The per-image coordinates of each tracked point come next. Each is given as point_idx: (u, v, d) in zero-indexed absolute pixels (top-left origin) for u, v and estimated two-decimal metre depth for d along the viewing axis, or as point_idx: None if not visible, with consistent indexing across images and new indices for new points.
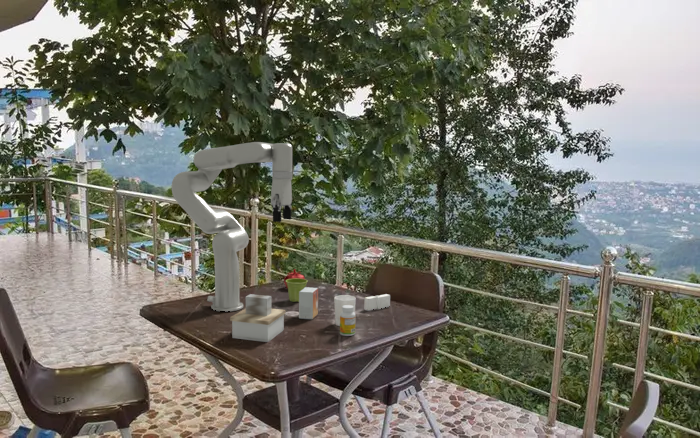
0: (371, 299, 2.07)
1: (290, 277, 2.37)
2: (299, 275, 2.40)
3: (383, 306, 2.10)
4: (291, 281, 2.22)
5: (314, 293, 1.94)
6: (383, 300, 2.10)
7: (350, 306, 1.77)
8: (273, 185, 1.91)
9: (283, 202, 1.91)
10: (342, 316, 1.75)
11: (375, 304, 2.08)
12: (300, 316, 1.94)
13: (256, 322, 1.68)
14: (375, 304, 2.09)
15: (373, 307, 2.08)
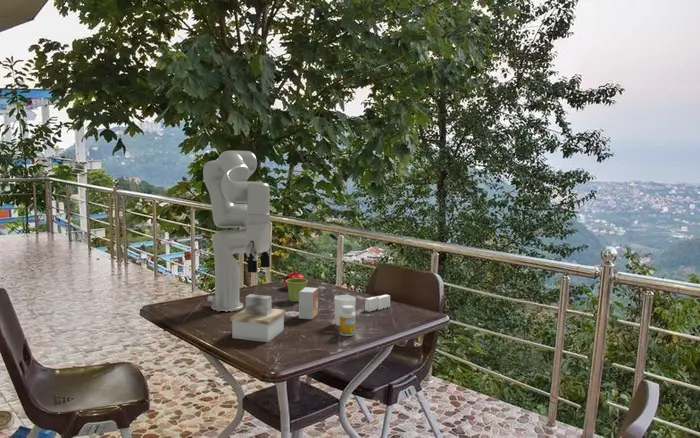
0: (372, 300, 2.06)
1: (290, 277, 2.37)
2: (299, 275, 2.40)
3: (383, 307, 2.09)
4: (291, 281, 2.22)
5: (314, 293, 1.94)
6: (383, 300, 2.09)
7: (350, 306, 1.77)
8: (247, 231, 1.68)
9: (259, 250, 1.68)
10: (342, 316, 1.75)
11: (375, 305, 2.08)
12: (300, 316, 1.94)
13: (256, 322, 1.68)
14: (376, 304, 2.08)
15: (374, 308, 2.07)
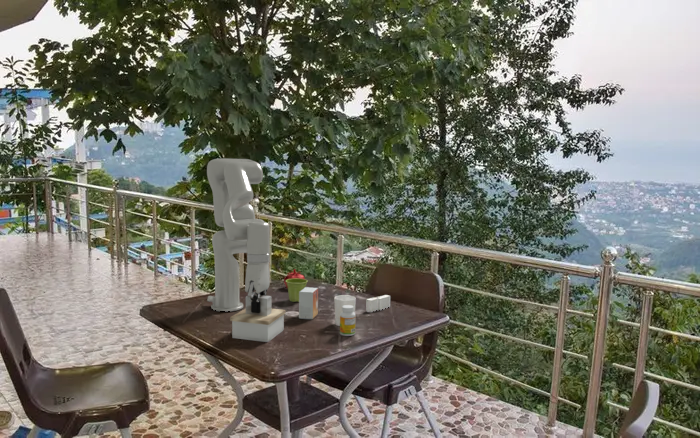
0: (373, 300, 2.05)
1: (290, 277, 2.37)
2: (299, 275, 2.40)
3: (384, 307, 2.09)
4: (291, 281, 2.22)
5: (314, 293, 1.94)
6: (384, 301, 2.08)
7: (350, 306, 1.77)
8: (247, 270, 1.69)
9: (259, 289, 1.70)
10: (342, 316, 1.75)
11: (376, 305, 2.07)
12: (300, 316, 1.94)
13: (256, 322, 1.68)
14: (377, 305, 2.07)
15: (375, 308, 2.06)
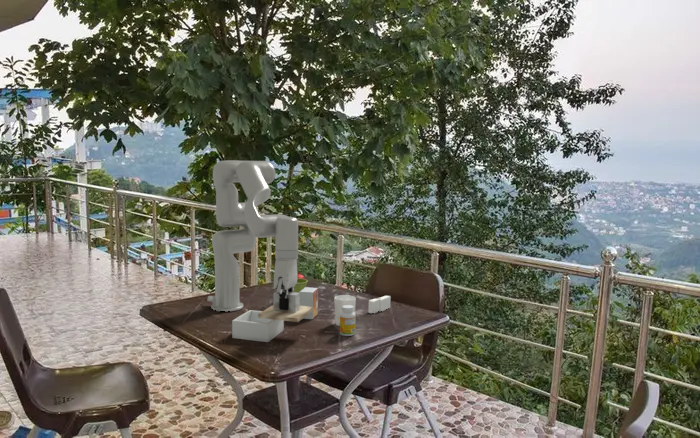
0: (375, 302, 2.03)
1: None
2: (299, 275, 2.40)
3: (385, 308, 2.08)
4: None
5: (314, 293, 1.94)
6: (385, 301, 2.07)
7: (350, 306, 1.77)
8: (276, 266, 1.66)
9: (287, 286, 1.67)
10: (342, 316, 1.75)
11: (378, 306, 2.05)
12: None
13: (285, 319, 1.65)
14: (379, 306, 2.05)
15: (377, 310, 2.04)
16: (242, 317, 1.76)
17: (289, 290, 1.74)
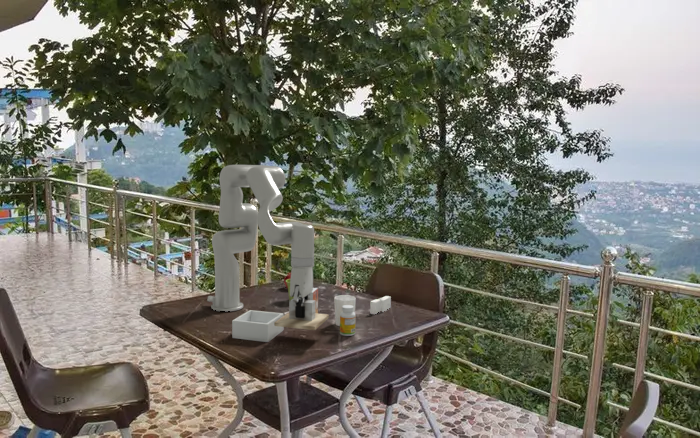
0: (377, 302, 2.02)
1: (290, 277, 2.37)
2: None
3: (386, 308, 2.07)
4: None
5: (314, 293, 1.94)
6: (386, 302, 2.06)
7: (350, 306, 1.77)
8: (292, 274, 1.65)
9: (304, 294, 1.66)
10: (342, 316, 1.75)
11: (379, 307, 2.04)
12: None
13: (302, 327, 1.63)
14: (380, 307, 2.05)
15: (378, 310, 2.03)
16: (242, 317, 1.76)
17: (305, 298, 1.73)
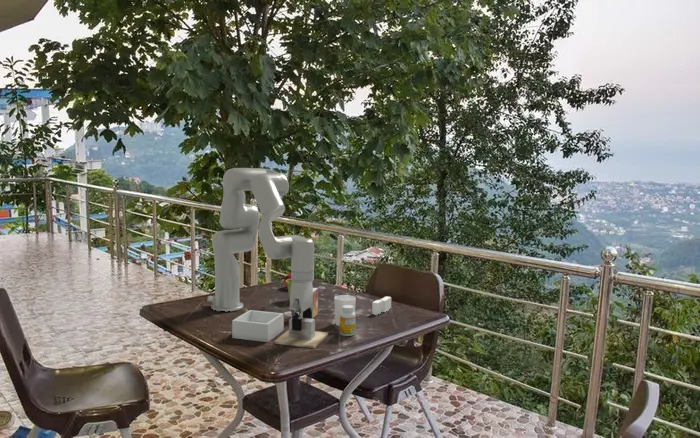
0: (379, 303, 2.01)
1: (290, 277, 2.37)
2: None
3: (387, 309, 2.06)
4: (291, 281, 2.22)
5: (314, 293, 1.94)
6: (387, 302, 2.06)
7: (350, 306, 1.77)
8: (292, 288, 1.66)
9: (304, 308, 1.66)
10: (342, 316, 1.75)
11: (381, 308, 2.03)
12: None
13: None
14: (381, 307, 2.04)
15: (380, 311, 2.03)
16: (242, 317, 1.76)
17: None
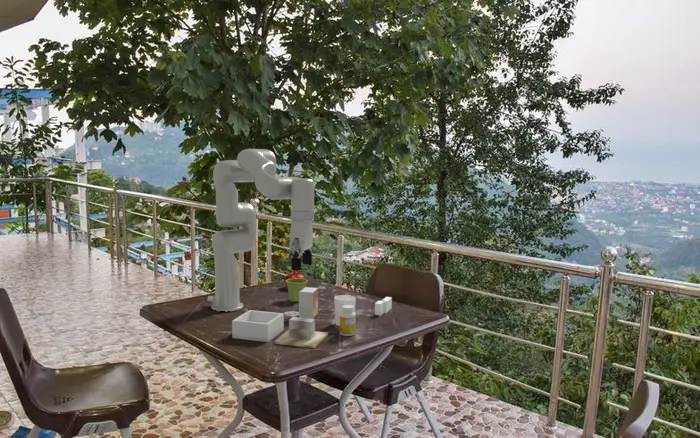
0: (381, 304, 2.00)
1: (290, 277, 2.37)
2: (299, 275, 2.40)
3: (388, 309, 2.06)
4: (291, 281, 2.22)
5: (314, 293, 1.94)
6: (388, 303, 2.05)
7: (350, 306, 1.77)
8: (292, 228, 1.64)
9: (303, 247, 1.65)
10: (342, 316, 1.75)
11: (383, 308, 2.02)
12: (300, 316, 1.94)
13: None
14: (383, 308, 2.03)
15: (382, 312, 2.02)
16: (242, 317, 1.76)
17: (307, 248, 1.74)
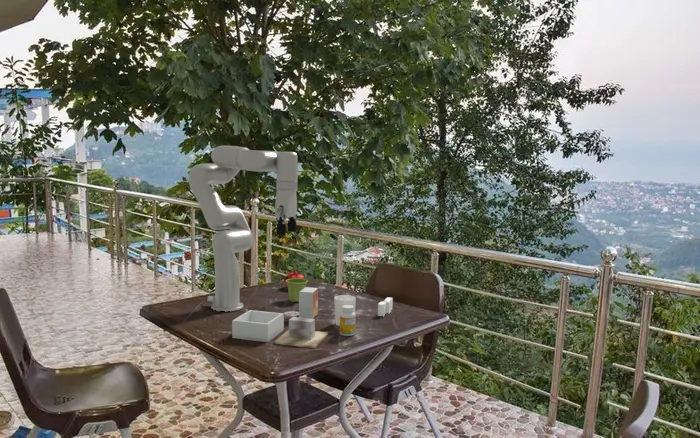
0: (384, 304, 1.99)
1: (290, 277, 2.37)
2: (299, 275, 2.40)
3: (390, 310, 2.05)
4: (291, 281, 2.22)
5: (314, 293, 1.94)
6: (390, 303, 2.04)
7: (350, 306, 1.77)
8: (277, 196, 1.80)
9: (288, 214, 1.81)
10: (342, 316, 1.75)
11: (385, 309, 2.01)
12: (300, 316, 1.94)
13: None
14: (386, 309, 2.02)
15: (385, 312, 2.01)
16: (242, 317, 1.76)
17: (292, 217, 1.90)
